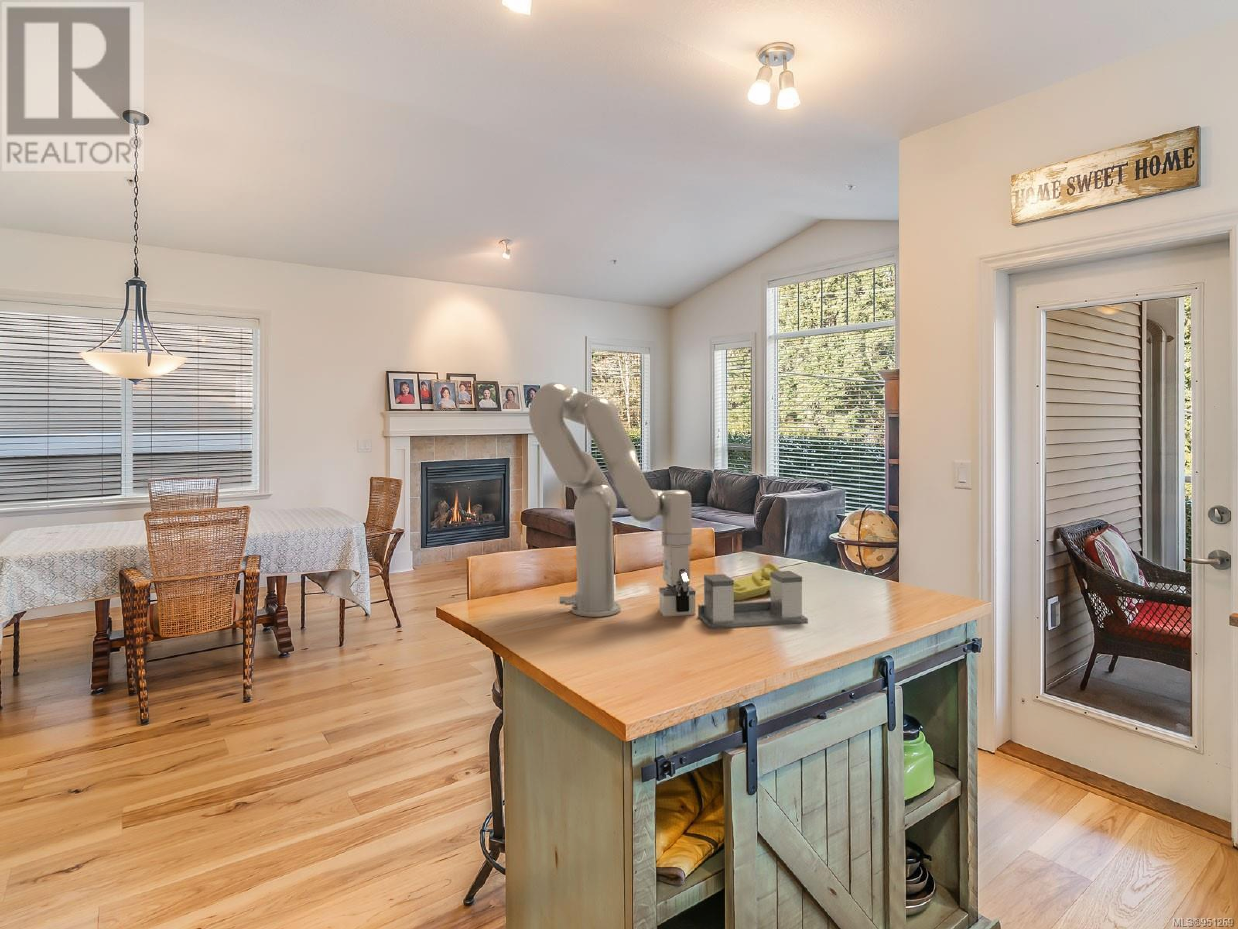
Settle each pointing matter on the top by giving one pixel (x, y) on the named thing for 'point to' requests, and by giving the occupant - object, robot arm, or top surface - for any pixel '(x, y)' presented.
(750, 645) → the top surface
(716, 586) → the grey fixture holder
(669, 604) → the block
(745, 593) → the plastic component
